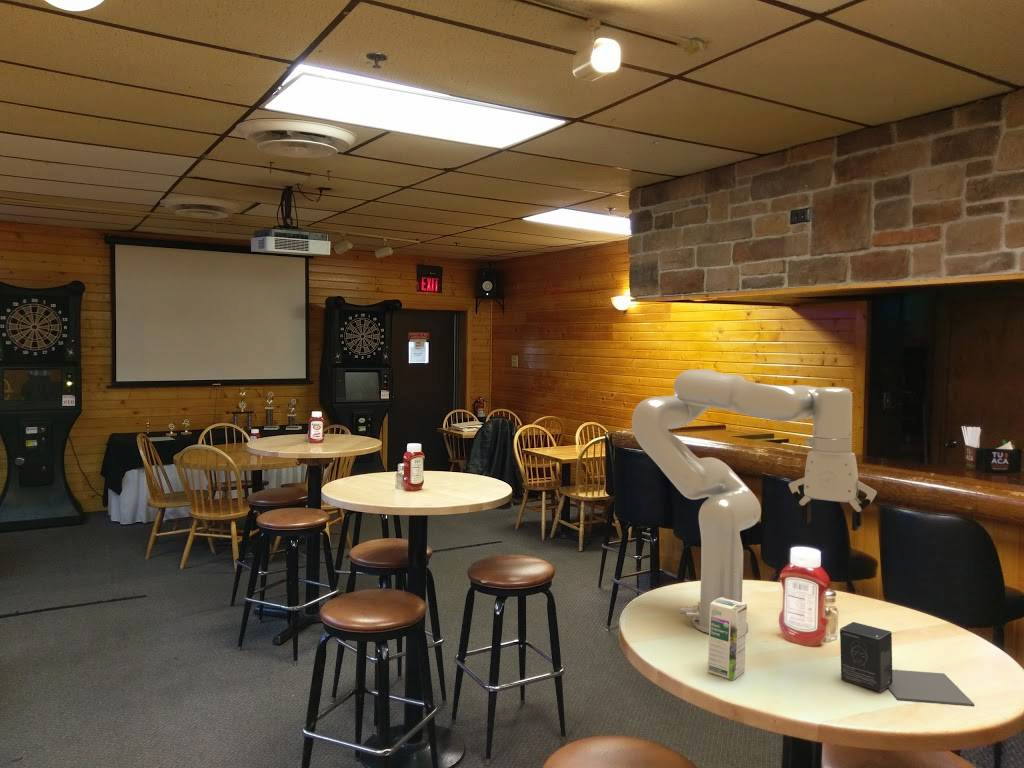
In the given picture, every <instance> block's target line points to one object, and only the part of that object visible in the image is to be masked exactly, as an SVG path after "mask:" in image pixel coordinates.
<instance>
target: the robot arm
mask: <svg viewBox="0 0 1024 768" xmlns="http://www.w3.org/2000/svg"><path fill="white" fill-rule="evenodd" d="M673 392H674V394H673V395H663V396H653V397H648V398H645V399H643V400H642V401H640V402H639V403H638V404H637V405H636V407H635V408H634V411H633V413H632V417H631V425H632V426H631V427H632V432H633V435H634V438H635V440H636V442H637V443H638V444H639V446H640V447H641V449H642V450H643V451H644V452H645V453H646V454H647V455H648V456H649V457H650V458H651V460H652V461H653V462H654V463H655V464H656V465H657V466H658V467H659V468H660V470H661V472H662V473H663V474H664V475H665V477H667V479H669V481H670V482H671V483H672V484H673V485H674V487H675V488H676V489H677V490H678V491H679V492H680V494H681V495H683V496H684V498H687V499H689V500H700V499H705V498H707V499H706V500H705V501H704V502H703V503H702V504H701V506H700V508H699V511H698V525H699V532H700V539H701V540H700V542H701V545H700V546H701V549H700V550H701V551H700V552H701V555H700V558H701V560H700V564H701V565H700V567H701V568H700V596H699V597H700V599H699V600H700V601H699V602H697V605H693V606H682V605H680V606H679V615H685V618H689V619H690V618H692V626H694V628H696V629H697V630H698V631H701V632H703V633H705V632H706V634H709V618H710V603H712V602H713V601H714V600H716V599H718V598H721V597H723V598H725V599H730V600H734V601H738V602H742V603H743V578H744V547H743V544H742V542H743V541H742V538H741V534H740V533H741V531H744V530H747V529H750V528H752V527H753V526H755V525H756V524H757V523H758V522H759V520H760V518H761V515H762V514H761V513H762V508H761V504H760V501H759V498H757V496H756V495H755V493H753V491H752V490H751V489H750V488H749V487H748V486H747V485H746V483H744V481H743V480H742V479H741V478H740V477H739V476H738V475H737V473H735V472H734V471H733V469H732V468H731V467H730V466H729V465H727V463H725V462H723V460H720V459H719V458H716V457H712V456H709V457H700V458H699V457H698V456H696V455H695V454H694V453H693V452H692V451H691V450H690V449H689V447H688V446H687V445H686V444H685V443H684V442H683V441H682V440H681V439H679V438H678V437H677V436H676V435H674V434H673V433H671V431H670V430H675V429H680V428H682V427H683V428H684V427H685V426H687V425H689V424H691V423H692V422H693V421H695V420H696V419H697V418H698V417H700V416H701V415H702V414H703V413H705V412H706V411H707V410H709V409H717V410H722V411H727V412H733V413H736V414H740V415H744V416H747V417H751V418H758V419H762V420H768V421H776V422H785V423H786V422H794V421H800V420H807V419H808V420H809V419H812V437H811V438H806V439H805V445H806V446H810V447H811V449H812V450H809V451H808V452H807V457H806V461H805V469H804V471H805V472H804V477H802V478H799V479H796V480H794V481H791V482H789V483H788V487H789V489H790V492H791V493H792V496H793V498H795V499H796V501H797V502H798V503H799V505H800V506H801V507H800V509H801V514H800V515H801V517H800V518H801V520H803V525H808V524H809V523H811V521H812V505H811V503H810V501H811V500H822V501H830V502H839V503H840V502H841V503H849V504H850V506H851V507H852V508H853V511H852V513H851V514H852V515H851V530H852V531H854V532H855V531H857V530H859V528H860V527H862V524H863V522H862V521H863V510H864V509H865V508H866V507H868V506H869V505H870V504H871V503H872V502H873V500H874V499H875V497H876V495H877V493H878V492H877V490H876V489H874V488H872V487H870V486H869V485H867V484H865V483H864V482H861V481H860V480H859V474H858V466H857V465H858V464H857V457H856V453H854V452H852V449H853V447H852V446H853V445H852V439H853V438H852V437H853V436H852V435H853V433H852V432H853V393H852V390H850V389H849V388H848V387H847V388H846V387H837V386H833V387H832V386H826V387H825V386H823V387H817V386H812V385H804V384H799V385H798V384H797V385H795V384H794V385H786V386H785V385H775V384H773V385H772V384H765V383H759V382H754V381H753V382H752V381H748V380H746V379H745V378H744V376H742V375H739V374H730V373H721V372H717V371H715V370H713V369H709V368H706V369H703V368H701V369H687V370H684V371H682V372H681V373H679V374H678V375H677V377H676V378H675V380H674V383H673ZM801 485H803V493H804V495H803V494H802V493H801V491H800V489H799V486H801ZM859 491H862V492H863V493H865V494H866V497H865V499H864V500H863V501H860V499H859V498H858V496H859ZM748 631H749V625H748V623H747V621H746V633H747V632H748Z"/></svg>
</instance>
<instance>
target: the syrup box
mask: <svg viewBox="0 0 1024 768" xmlns="http://www.w3.org/2000/svg"><path fill="white" fill-rule="evenodd" d="M747 610H748V603H747V602H743V601H742V602H738V601H734V600H730V599H725V598H723V597H721V598H718V599H716V600H714V601H713V602H712V603H710V618H709V633H708V658H707V659H708V660H707V673H708V672H709V674H712V673H713V674H714V675H715V676H719V677H722V678H725V679H728V680H731V681H734V680H736V679H737V678H739V677H740V676H741V675H742V674H743V673H745V666H746V644H747V643H746V642H747V639H746V638H747V632H746V622H747V616H748V615H747V613H748V612H747ZM713 674H712V675H713Z"/></svg>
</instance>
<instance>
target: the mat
mask: <svg viewBox="0 0 1024 768" xmlns="http://www.w3.org/2000/svg"><path fill="white" fill-rule="evenodd" d="M887 689H888V690H889V692H890V693H891V694H892V695H893V697H894V698H895V699H896V700H897V701H906V702H918V703H919V702H920V703H933V704H943V705H944V704H945V705H957V706H968V705H969V707H975V703H974V702H973V701H972V700H971V699H970V698H969V697H968V696H967V695H966V694H965V693H964V692H963V691H962V690H961V689H960V688H959V686H958V685H956V684H955V682H953V681H952V679H950V677H948V676H947V675H946V673H942V672H930V671H918V670H917V671H915V670H905V669H904V670H903V669H892V684H891V685H889V686H888V687H887Z"/></svg>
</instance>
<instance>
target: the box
mask: <svg viewBox="0 0 1024 768" xmlns="http://www.w3.org/2000/svg"><path fill="white" fill-rule="evenodd" d="M839 636H840V637H839V642H840V678H841V680H842V681H845V682H848V683H852V684H855V685H859V686H862V687H865V688H868V689H871V690H873V691H877V692H882V691H884V690H885V689H886V688H887V689H888V686H889V685H891V684H892V670H893V643H892V642H893V639H892V638H893V636H892V631H890V630H887V629H882V628H878V627H875V626H871V625H867V624H863V623H859V622H854V621H852V622H850V623H848V624H846V625H844V626H841V628H840V629H839Z"/></svg>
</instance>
